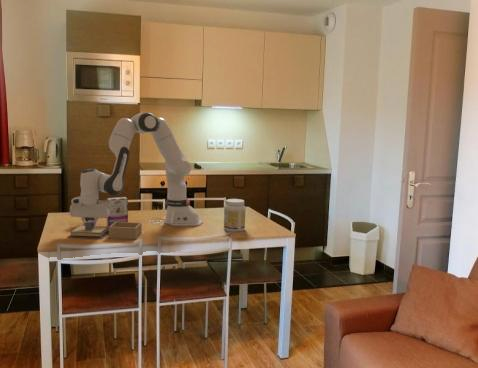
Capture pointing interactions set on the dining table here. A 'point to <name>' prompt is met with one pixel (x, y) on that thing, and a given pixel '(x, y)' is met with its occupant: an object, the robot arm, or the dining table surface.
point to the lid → (89, 230)
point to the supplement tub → (234, 215)
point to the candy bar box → (117, 210)
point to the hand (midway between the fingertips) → (89, 225)
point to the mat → (89, 236)
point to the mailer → (125, 230)
